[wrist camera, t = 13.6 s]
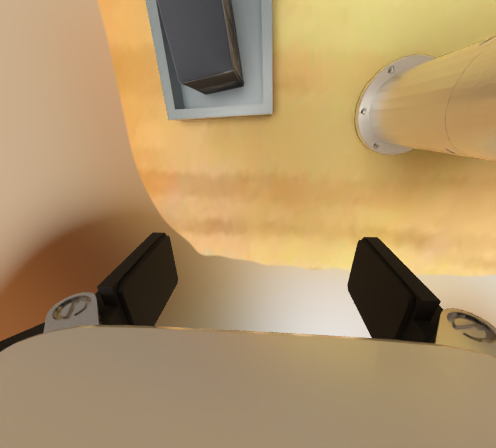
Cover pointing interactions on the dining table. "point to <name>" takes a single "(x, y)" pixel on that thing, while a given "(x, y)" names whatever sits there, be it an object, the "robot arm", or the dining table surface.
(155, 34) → the crate
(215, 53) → the small box
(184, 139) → the dining table surface
